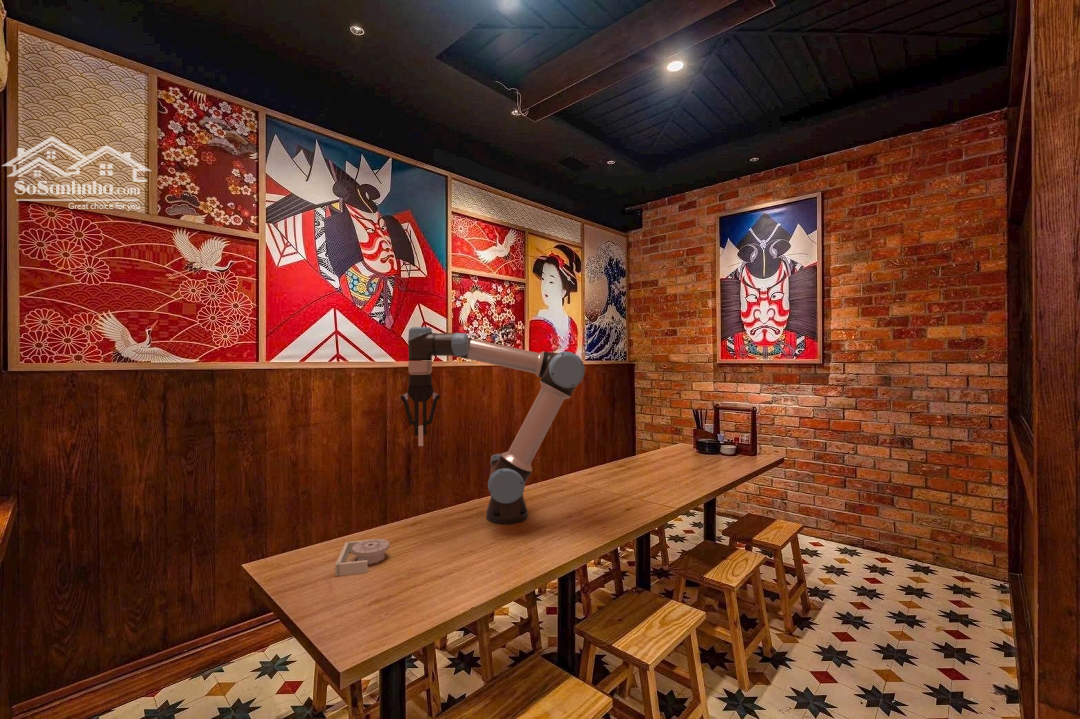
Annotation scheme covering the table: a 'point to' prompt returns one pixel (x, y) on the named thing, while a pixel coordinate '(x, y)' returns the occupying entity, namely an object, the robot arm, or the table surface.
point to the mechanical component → (371, 550)
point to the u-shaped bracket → (349, 567)
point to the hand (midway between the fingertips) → (420, 445)
